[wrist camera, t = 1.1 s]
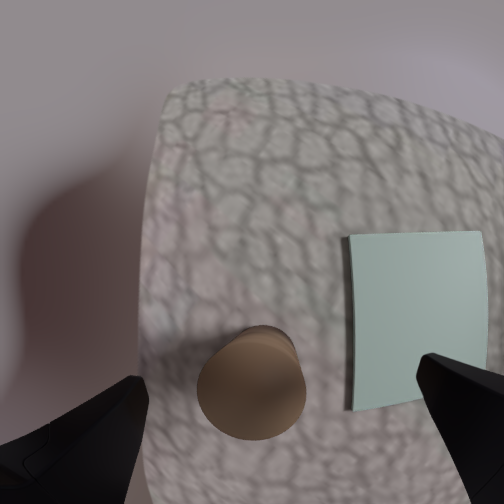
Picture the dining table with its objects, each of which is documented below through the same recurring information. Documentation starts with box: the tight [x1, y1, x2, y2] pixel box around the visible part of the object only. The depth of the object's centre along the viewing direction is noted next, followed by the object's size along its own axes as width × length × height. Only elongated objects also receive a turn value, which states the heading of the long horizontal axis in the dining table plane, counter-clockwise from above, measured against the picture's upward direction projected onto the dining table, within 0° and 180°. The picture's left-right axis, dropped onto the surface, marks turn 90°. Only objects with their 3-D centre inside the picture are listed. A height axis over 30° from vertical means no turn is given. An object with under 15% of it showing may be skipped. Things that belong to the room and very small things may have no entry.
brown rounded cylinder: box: [197, 325, 306, 440], centre depth 16 cm, size 5×5×9 cm
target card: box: [348, 231, 488, 412], centre depth 19 cm, size 14×14×1 cm
